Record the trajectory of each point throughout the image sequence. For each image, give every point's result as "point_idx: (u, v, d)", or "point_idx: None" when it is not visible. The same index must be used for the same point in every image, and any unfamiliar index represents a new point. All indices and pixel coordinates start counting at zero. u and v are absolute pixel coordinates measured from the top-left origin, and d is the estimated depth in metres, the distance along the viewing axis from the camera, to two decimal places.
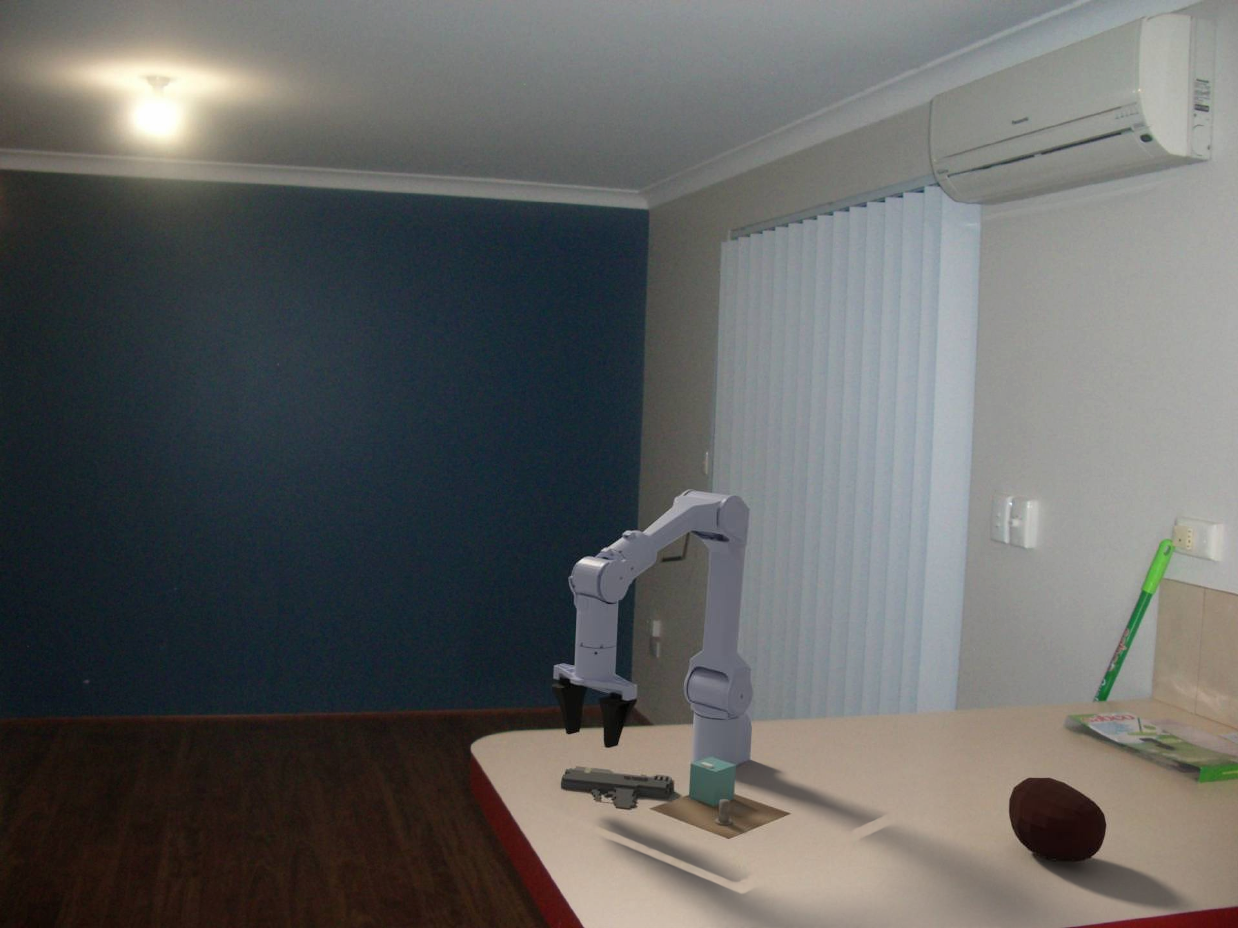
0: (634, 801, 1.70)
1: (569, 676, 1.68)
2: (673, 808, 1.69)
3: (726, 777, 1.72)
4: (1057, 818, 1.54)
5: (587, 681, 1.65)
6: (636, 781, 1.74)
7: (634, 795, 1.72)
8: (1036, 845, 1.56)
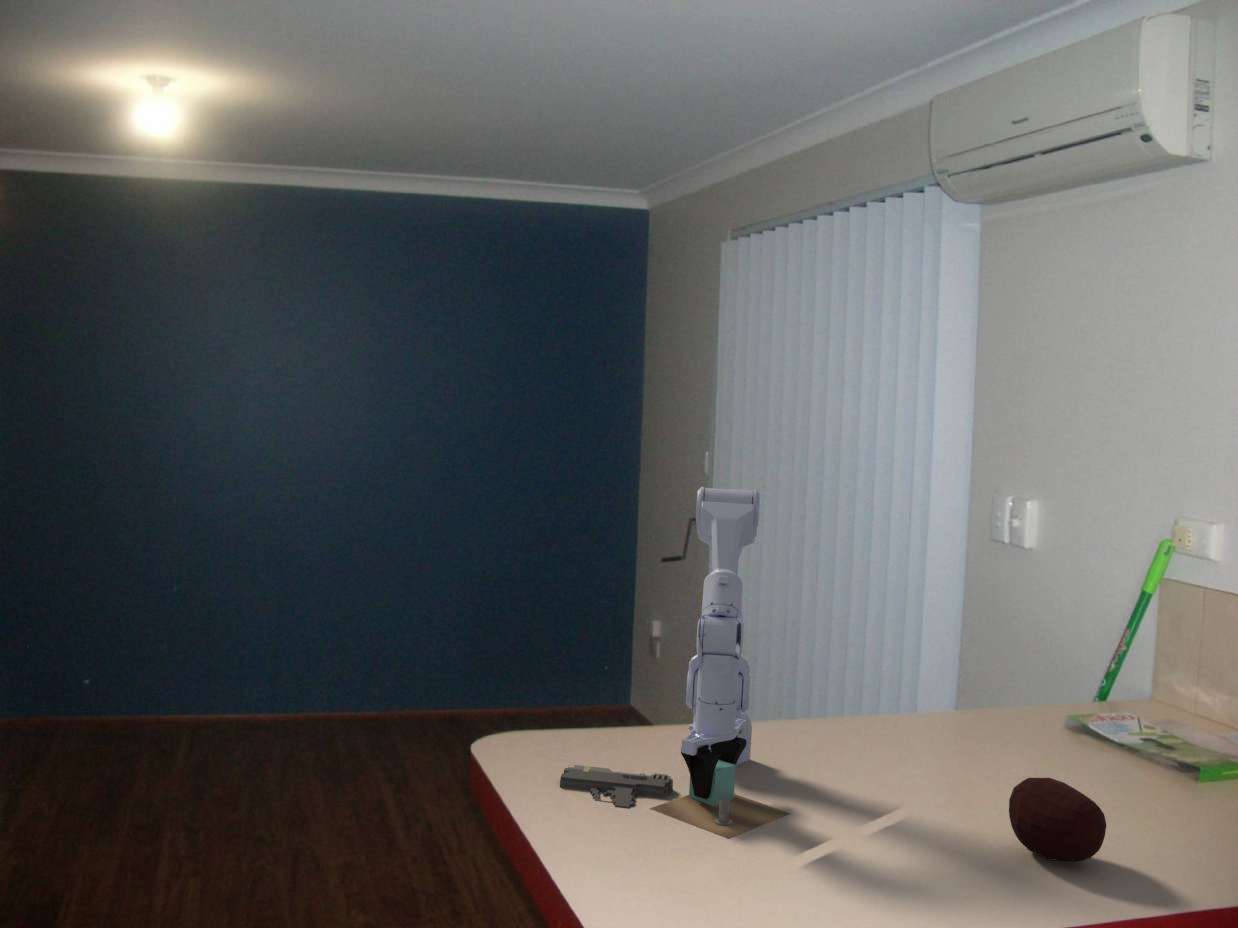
0: (633, 800, 1.71)
1: None
2: (673, 808, 1.69)
3: (726, 777, 1.72)
4: (1057, 818, 1.54)
5: None
6: (635, 779, 1.75)
7: (633, 794, 1.72)
8: (1035, 845, 1.56)
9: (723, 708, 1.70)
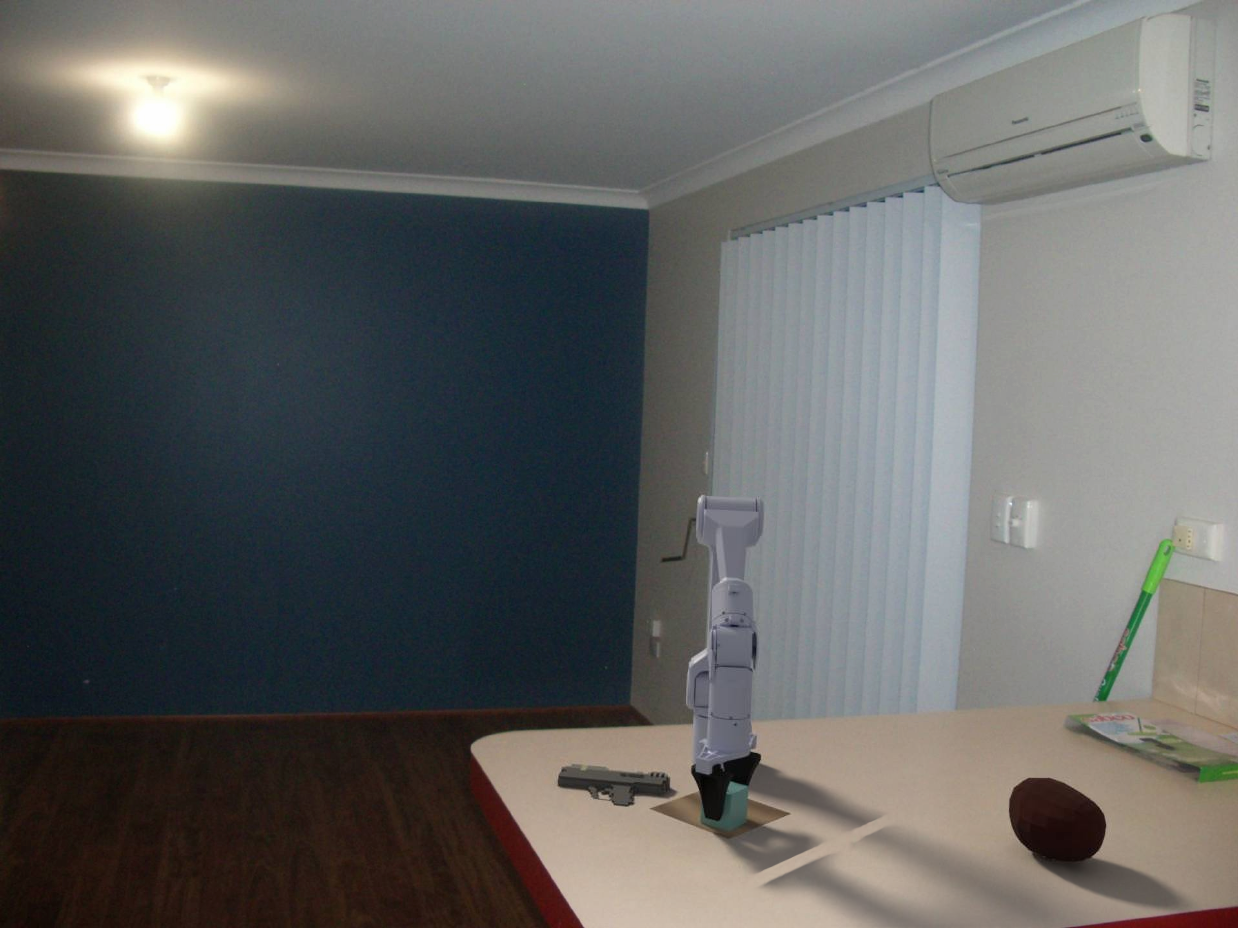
0: (631, 798, 1.72)
1: None
2: (673, 808, 1.69)
3: (740, 800, 1.63)
4: (1057, 818, 1.54)
5: (704, 745, 1.64)
6: (633, 778, 1.76)
7: (631, 792, 1.73)
8: (1035, 845, 1.56)
9: (738, 723, 1.61)
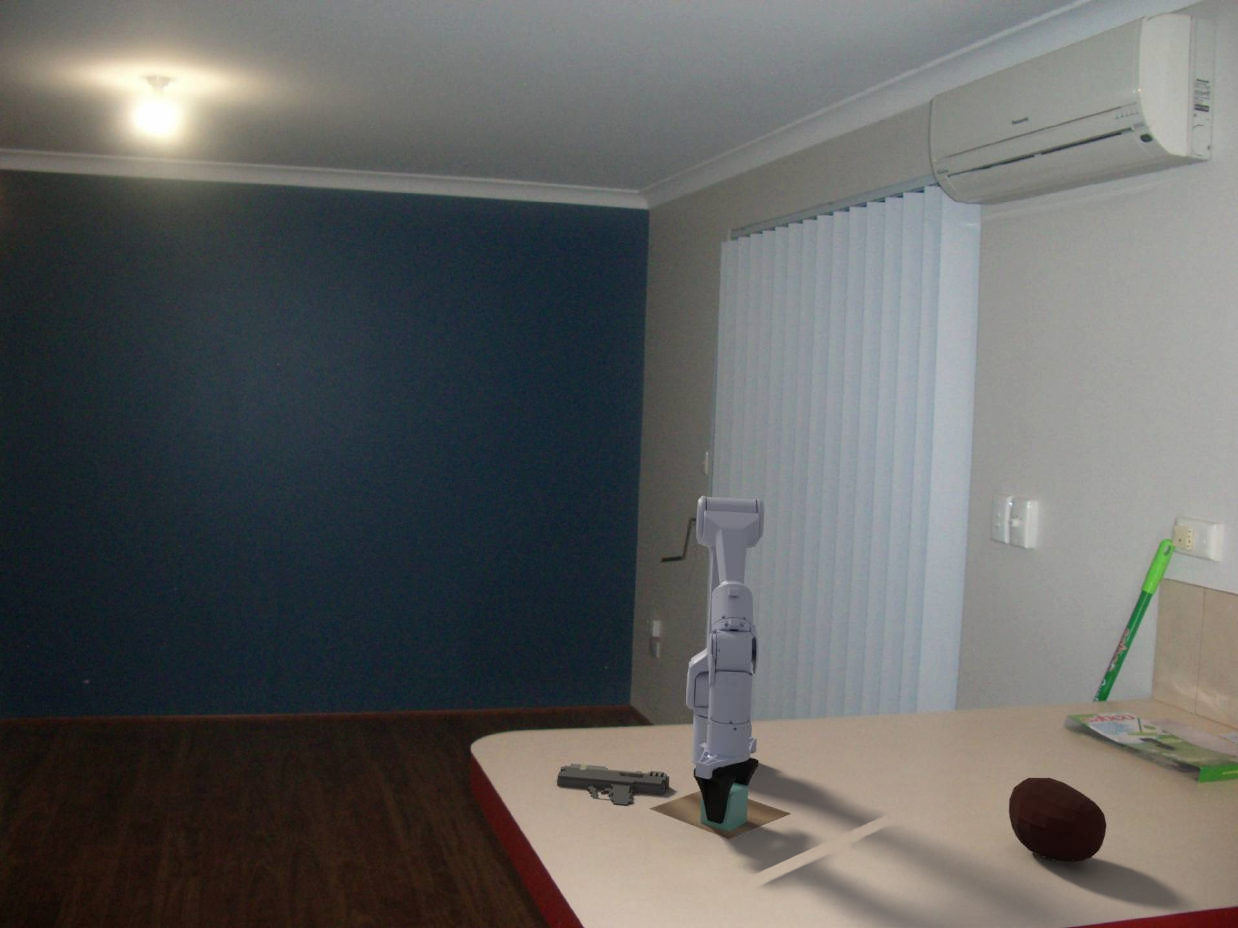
0: (631, 797, 1.72)
1: None
2: (673, 808, 1.69)
3: (740, 800, 1.63)
4: (1057, 818, 1.54)
5: None
6: (632, 777, 1.76)
7: (630, 791, 1.73)
8: (1036, 845, 1.56)
9: (738, 728, 1.61)
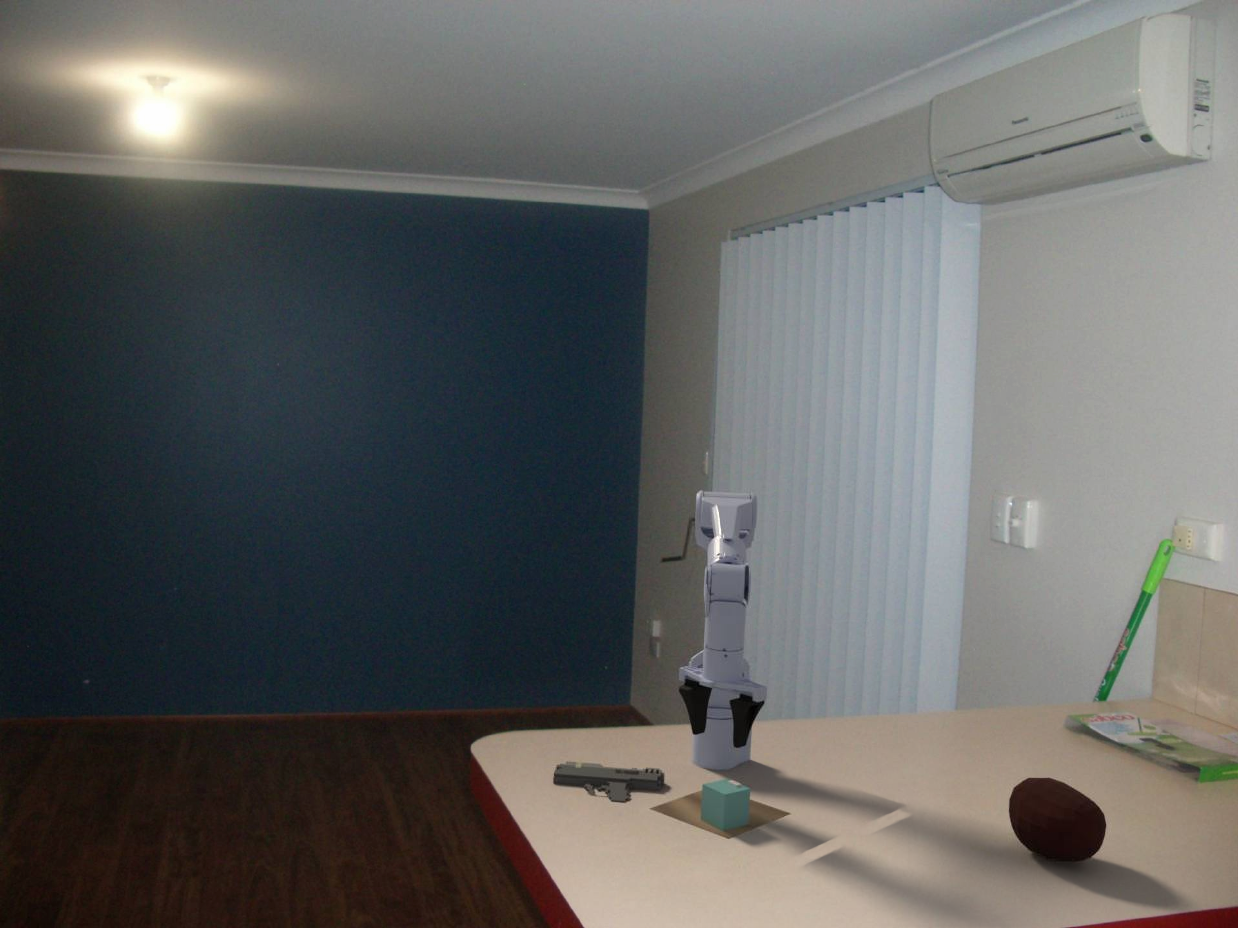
0: (628, 794, 1.73)
1: (697, 678, 1.73)
2: (673, 808, 1.69)
3: None
4: (1057, 818, 1.54)
5: (717, 683, 1.70)
6: (628, 774, 1.77)
7: (627, 788, 1.75)
8: (1035, 845, 1.56)
9: None
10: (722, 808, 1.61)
